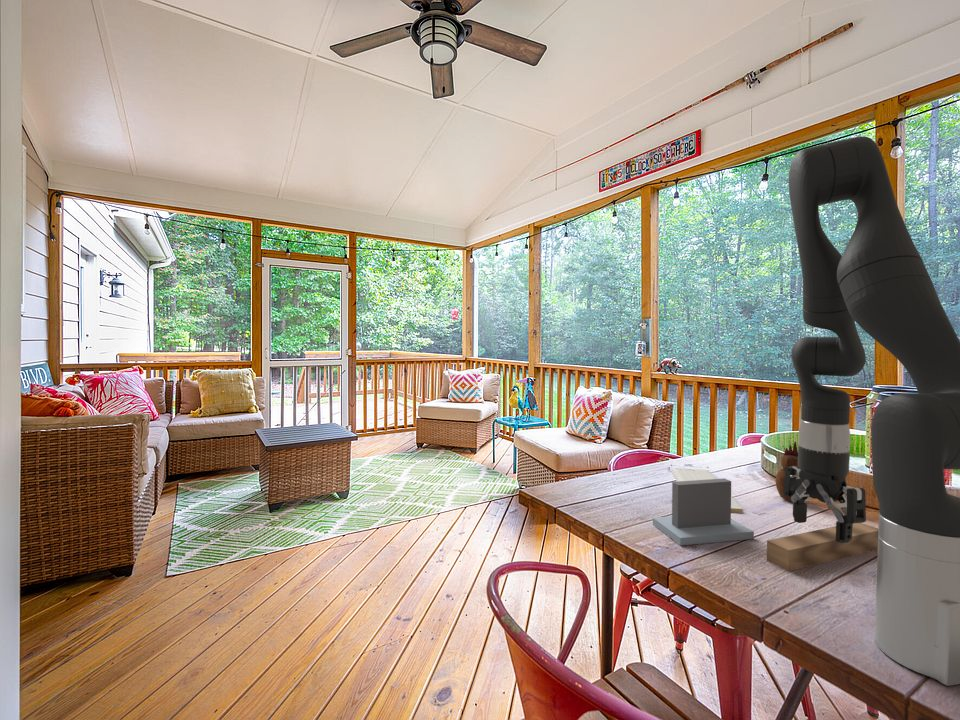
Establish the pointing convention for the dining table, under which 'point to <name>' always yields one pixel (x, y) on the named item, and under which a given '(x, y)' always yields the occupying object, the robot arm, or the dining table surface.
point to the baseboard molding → (700, 475)
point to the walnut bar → (819, 546)
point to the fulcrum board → (703, 532)
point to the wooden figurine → (786, 461)
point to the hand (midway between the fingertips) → (820, 531)
